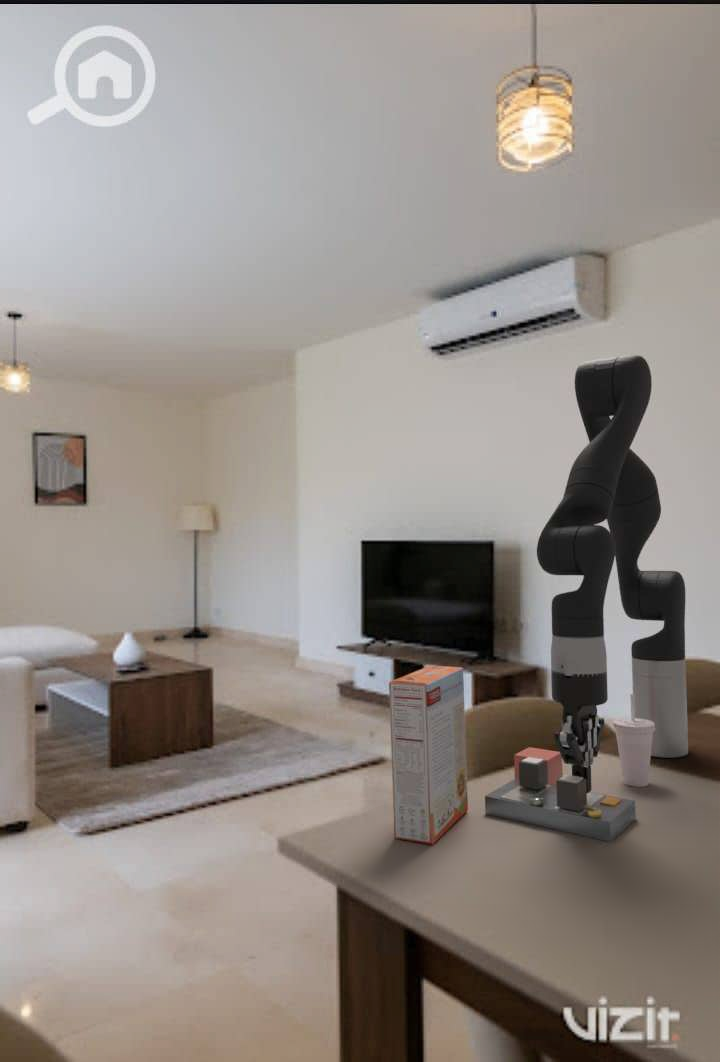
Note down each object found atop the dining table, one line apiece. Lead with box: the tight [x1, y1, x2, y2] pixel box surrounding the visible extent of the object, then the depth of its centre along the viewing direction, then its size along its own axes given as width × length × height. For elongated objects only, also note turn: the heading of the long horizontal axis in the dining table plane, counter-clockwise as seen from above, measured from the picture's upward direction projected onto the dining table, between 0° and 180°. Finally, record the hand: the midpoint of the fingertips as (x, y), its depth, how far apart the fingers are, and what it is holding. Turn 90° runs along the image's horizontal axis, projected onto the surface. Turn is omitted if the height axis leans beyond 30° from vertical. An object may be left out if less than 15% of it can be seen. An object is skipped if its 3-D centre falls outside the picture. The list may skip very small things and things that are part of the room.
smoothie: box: [612, 693, 655, 788], centre depth 119 cm, size 6×6×14 cm
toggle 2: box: [556, 774, 587, 811], centre depth 101 cm, size 3×3×4 cm
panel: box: [484, 778, 637, 843], centre depth 105 cm, size 10×18×3 cm, turn 52°
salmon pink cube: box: [513, 746, 564, 786], centre depth 118 cm, size 6×6×5 cm
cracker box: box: [388, 665, 469, 845], centre depth 103 cm, size 14×6×21 cm, turn 152°
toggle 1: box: [519, 757, 547, 790], centre depth 110 cm, size 3×3×4 cm
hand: (581, 792), depth 104 cm, fingers closed
